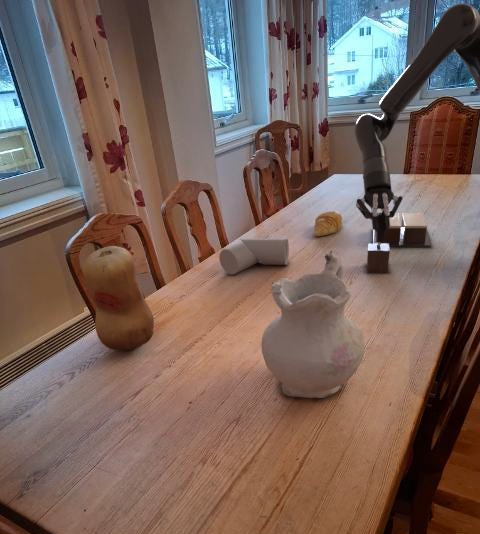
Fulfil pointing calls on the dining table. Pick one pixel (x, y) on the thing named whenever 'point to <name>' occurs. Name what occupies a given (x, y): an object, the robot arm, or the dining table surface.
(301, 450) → the dining table surface
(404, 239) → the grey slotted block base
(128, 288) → the butternut squash
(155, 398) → the dining table surface
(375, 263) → the knife block
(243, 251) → the bent grey cylinder
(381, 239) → the knife
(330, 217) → the croissant
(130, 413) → the dining table surface
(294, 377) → the ceramic pitcher
